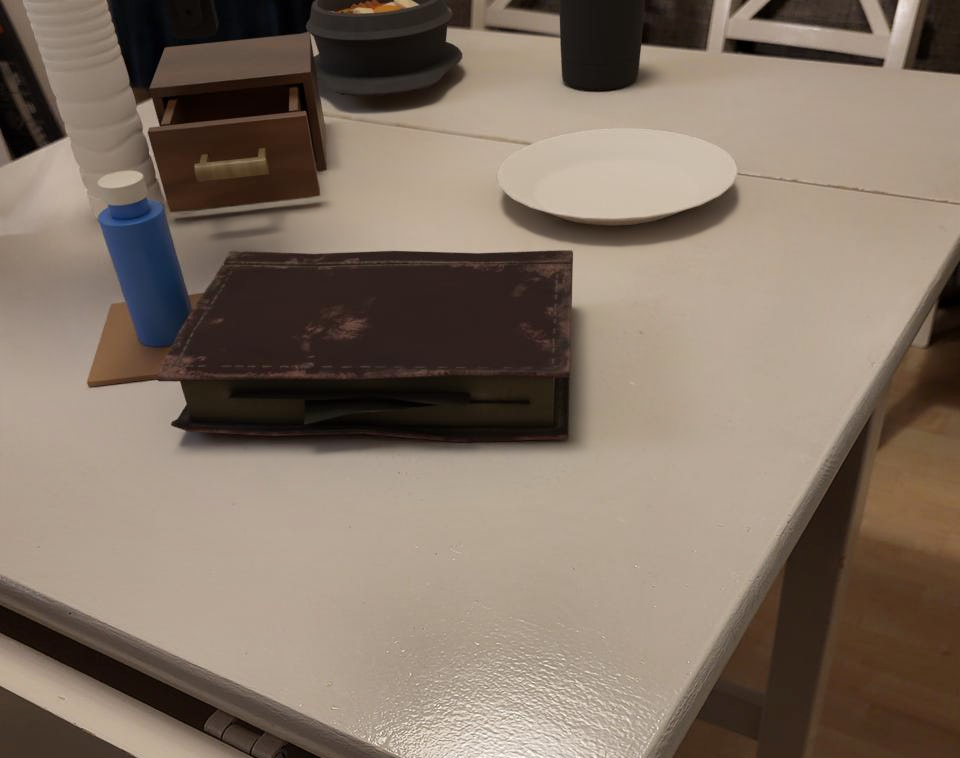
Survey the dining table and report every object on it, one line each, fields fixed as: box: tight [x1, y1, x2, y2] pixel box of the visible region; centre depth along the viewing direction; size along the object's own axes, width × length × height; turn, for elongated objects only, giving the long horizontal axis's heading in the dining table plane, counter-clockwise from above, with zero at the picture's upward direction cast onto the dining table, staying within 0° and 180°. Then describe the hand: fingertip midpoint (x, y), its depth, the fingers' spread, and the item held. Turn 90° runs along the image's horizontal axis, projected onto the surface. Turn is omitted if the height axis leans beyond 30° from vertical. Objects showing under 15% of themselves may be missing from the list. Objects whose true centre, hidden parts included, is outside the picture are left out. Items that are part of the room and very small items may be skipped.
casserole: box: [305, 0, 463, 97], centre depth 113 cm, size 25×19×8 cm
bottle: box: [97, 171, 193, 347], centre depth 68 cm, size 4×4×11 cm
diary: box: [156, 249, 574, 443], centre depth 65 cm, size 19×25×5 cm
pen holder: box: [558, 0, 646, 92], centre depth 107 cm, size 9×9×10 cm
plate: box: [496, 127, 739, 227], centre depth 86 cm, size 21×21×2 cm
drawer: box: [147, 83, 321, 213], centre depth 89 cm, size 17×14×7 cm
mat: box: [86, 292, 204, 388], centre depth 72 cm, size 10×12×1 cm
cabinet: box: [149, 32, 328, 172], centre depth 97 cm, size 14×15×9 cm
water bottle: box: [22, 0, 165, 221], centre depth 82 cm, size 9×6×25 cm
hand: (197, 34), depth 71 cm, fingers closed
